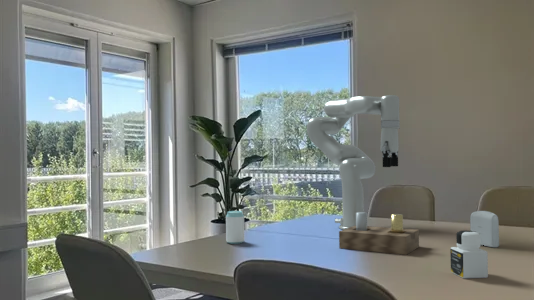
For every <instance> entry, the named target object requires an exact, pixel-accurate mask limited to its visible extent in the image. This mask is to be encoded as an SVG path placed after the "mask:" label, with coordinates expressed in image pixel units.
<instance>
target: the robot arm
mask: <svg viewBox="0 0 534 300" xmlns="http://www.w3.org/2000/svg"><path fill="white" fill-rule="evenodd" d="M323 111H324V113H325V115H326V116H315V117H312V118H310V119H309V120H308V122H307V124H306V133H307V136H308V138H309V141H310V142H311V143H312V144H313V145H314V146H315V147H317V149H319V150H320V151H321V153H322V154H324V156H326V157H327V159H329V160H330V161H331V163H333V164H334V165H336V166H339V169H338V170H339V175H340V180H341V192H342V193H341V195H342V199H341V200H342V201H341V203H342V207H341V208H342V217H341V218H335V219H334V223H335V224H340V225H338V227H339V229H340V230H344V229H347V228H350V227H352V226H355V225H356V213H357V212H365V199H364V198H365V193H364V185H363V183H362V180H363V179H371V178H373V176H375V173H376V169H377V168H376V164H375V162H374V161H373V160H372V158H370V157H369V156H368V155H367V154H366V153H365V152H364V151H363V150H362V149H361V148H359V147H358V146H356V145H354V144H342V143H340V142H339V141H337V140H336V139H335V138H334V137H333V136H332V135H336V134H338V133H339V132H340V131H341V130H342V129H343V128H344V126H345V125H346V123H348V121H349V120H350V119H351V118H352V117H354V116H356V115H379V116H380V130H381V132H380V147H379V148H380V153H382V156H381V157H382V168H391V167H399V149H400V147H399V129H400V123H401V122H400V97H399V96H398V95H396V94H395V95H394V94H387V95H383V96H370V95H362V96H361V95H360V96H353V97H347V98H337V99H336V98H335V99H331V100H328V101H326V103H325V104H324V106H323Z"/></svg>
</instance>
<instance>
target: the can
mask: <svg viewBox="0 0 534 300" xmlns="http://www.w3.org/2000/svg"><path fill="white" fill-rule="evenodd" d="M225 241H226V242H227V243H228V244H231V245H235V244H236V245H237V244H242V243H243V242H245V215H244V213H243V211H241V210H229V211H227V212H226V215H225Z"/></svg>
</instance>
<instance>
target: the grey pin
mask: <svg viewBox="0 0 534 300" xmlns="http://www.w3.org/2000/svg"><path fill="white" fill-rule="evenodd" d="M367 226H368V212H365V211H364V212H357V213H356V230H360V231H367Z"/></svg>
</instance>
